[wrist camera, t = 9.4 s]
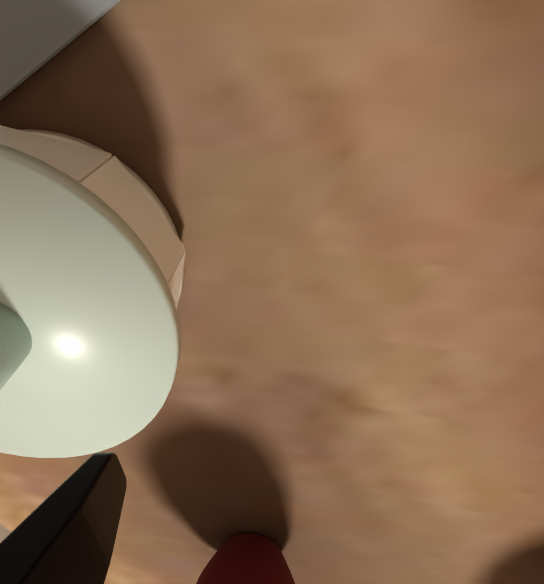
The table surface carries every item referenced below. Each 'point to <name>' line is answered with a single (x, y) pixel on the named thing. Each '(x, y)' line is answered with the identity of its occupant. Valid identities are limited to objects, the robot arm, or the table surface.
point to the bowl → (110, 192)
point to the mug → (247, 562)
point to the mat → (40, 33)
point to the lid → (76, 318)
